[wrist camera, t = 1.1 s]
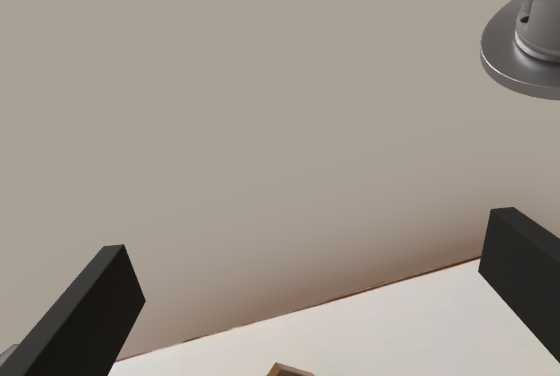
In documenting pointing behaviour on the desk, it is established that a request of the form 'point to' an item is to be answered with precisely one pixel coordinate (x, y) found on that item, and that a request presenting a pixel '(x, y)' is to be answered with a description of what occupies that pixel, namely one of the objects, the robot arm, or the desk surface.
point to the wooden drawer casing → (287, 371)
